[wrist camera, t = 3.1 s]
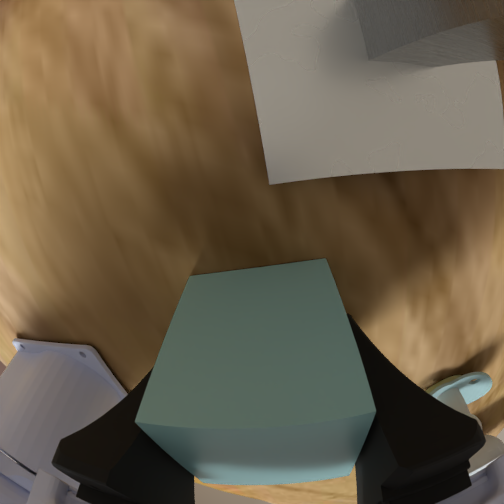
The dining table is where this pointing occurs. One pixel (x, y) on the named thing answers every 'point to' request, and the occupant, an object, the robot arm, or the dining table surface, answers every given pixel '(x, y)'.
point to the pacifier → (461, 391)
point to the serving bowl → (486, 454)
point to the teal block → (260, 379)
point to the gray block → (375, 85)
